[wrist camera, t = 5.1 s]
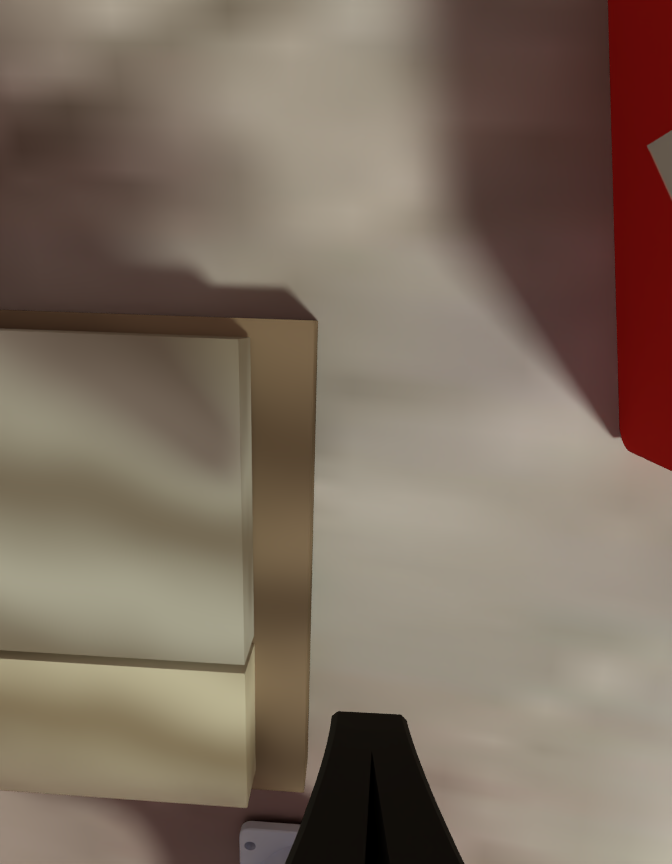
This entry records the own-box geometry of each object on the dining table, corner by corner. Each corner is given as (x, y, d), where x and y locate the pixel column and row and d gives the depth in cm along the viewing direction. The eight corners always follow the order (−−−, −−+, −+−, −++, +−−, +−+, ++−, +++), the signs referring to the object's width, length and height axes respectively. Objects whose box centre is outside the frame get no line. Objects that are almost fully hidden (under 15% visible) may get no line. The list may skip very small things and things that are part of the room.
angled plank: (253, 635, 17) (244, 665, 16) (-105, 614, 17) (-147, 641, 16) (250, 337, 14) (238, 339, 13) (-174, 322, 15) (-232, 322, 13)
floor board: (307, 758, 20) (299, 832, 17) (-83, 732, 21) (-154, 798, 18) (317, 321, 16) (309, 320, 13) (-178, 303, 16) (-294, 299, 13)
